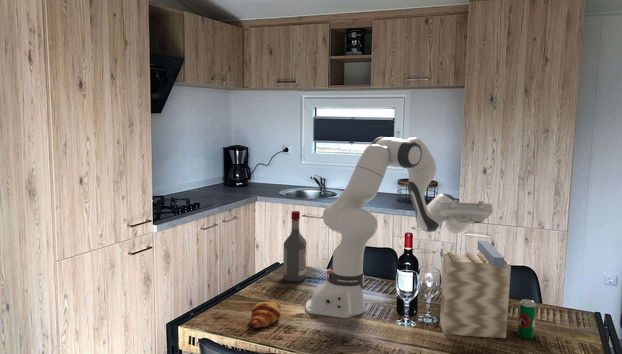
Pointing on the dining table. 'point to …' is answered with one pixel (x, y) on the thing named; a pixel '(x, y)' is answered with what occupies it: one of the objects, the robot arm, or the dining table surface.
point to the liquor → (294, 253)
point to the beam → (491, 254)
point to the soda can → (526, 319)
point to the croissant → (265, 314)
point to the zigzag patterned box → (474, 296)
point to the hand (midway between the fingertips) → (468, 202)
